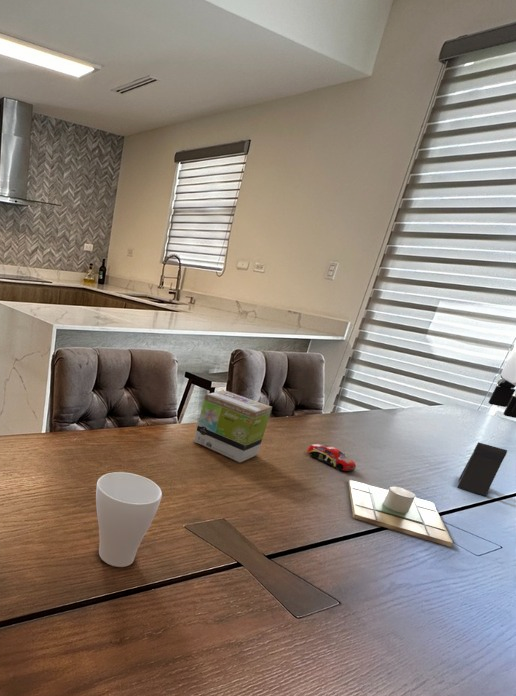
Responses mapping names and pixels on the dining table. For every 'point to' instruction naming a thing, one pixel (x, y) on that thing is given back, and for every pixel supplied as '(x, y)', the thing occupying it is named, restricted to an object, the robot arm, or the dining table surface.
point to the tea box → (232, 425)
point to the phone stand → (481, 468)
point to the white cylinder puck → (399, 499)
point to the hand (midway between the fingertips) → (504, 410)
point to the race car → (331, 457)
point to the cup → (124, 514)
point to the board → (397, 514)
